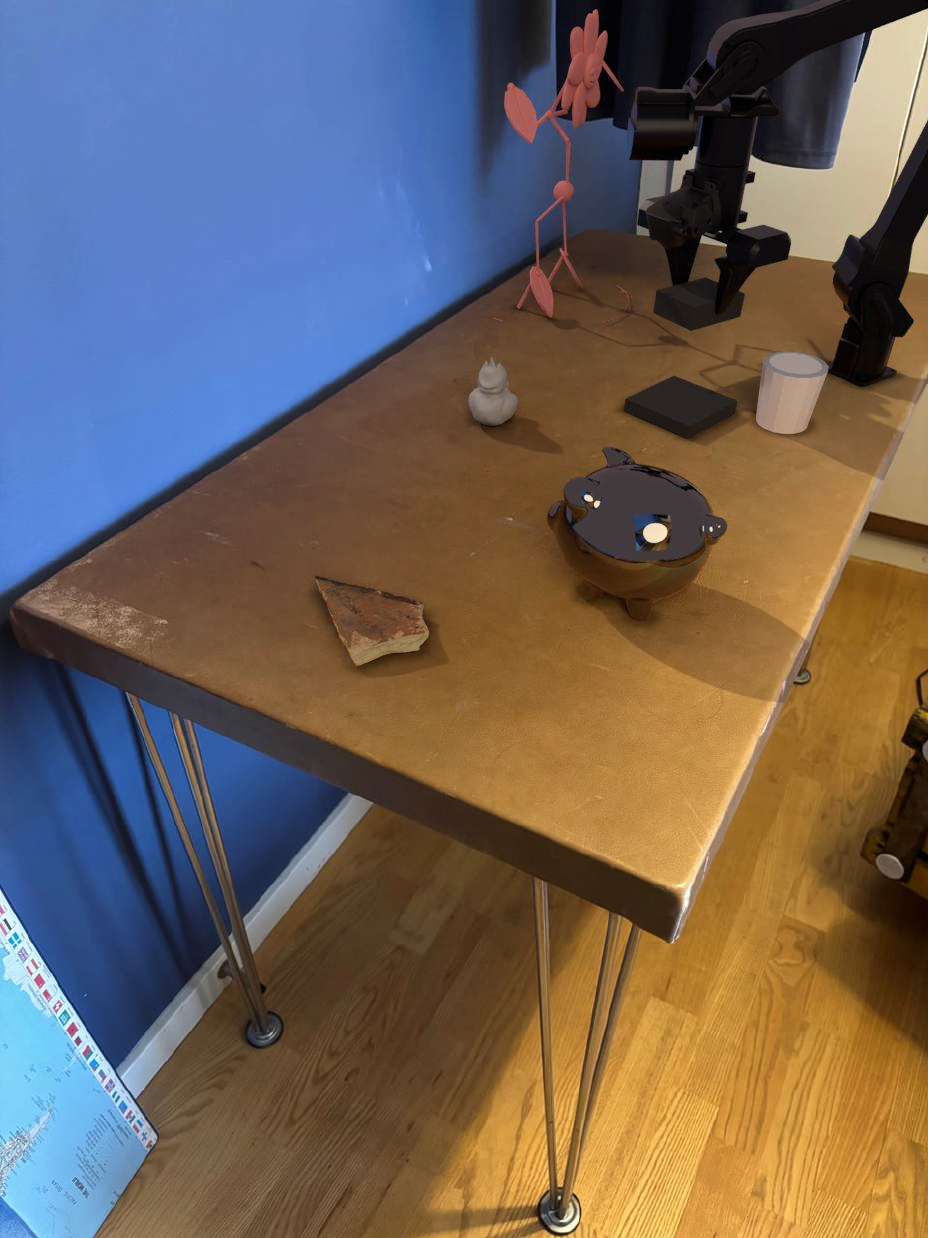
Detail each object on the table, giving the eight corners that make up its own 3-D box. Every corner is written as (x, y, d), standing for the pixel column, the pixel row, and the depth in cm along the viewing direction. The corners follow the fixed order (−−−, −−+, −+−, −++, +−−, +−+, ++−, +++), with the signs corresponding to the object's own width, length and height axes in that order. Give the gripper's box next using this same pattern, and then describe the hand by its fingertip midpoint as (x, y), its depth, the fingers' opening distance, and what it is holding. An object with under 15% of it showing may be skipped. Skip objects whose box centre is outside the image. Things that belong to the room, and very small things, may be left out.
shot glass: (815, 439, 99) (832, 379, 95) (751, 433, 100) (764, 373, 96) (810, 411, 105) (826, 352, 100) (749, 405, 106) (761, 347, 101)
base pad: (671, 387, 109) (673, 375, 108) (735, 413, 104) (738, 400, 103) (623, 411, 105) (625, 398, 103) (687, 439, 99) (689, 425, 98)
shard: (316, 589, 79) (313, 572, 78) (400, 570, 81) (399, 554, 80) (348, 669, 71) (347, 651, 70) (441, 646, 73) (440, 629, 72)
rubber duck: (460, 428, 101) (459, 359, 96) (481, 403, 106) (482, 336, 101) (505, 437, 100) (508, 368, 95) (525, 411, 104) (528, 344, 99)
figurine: (484, 327, 123) (489, 20, 101) (562, 270, 141) (581, -3, 118) (589, 349, 118) (618, 29, 95) (657, 287, 135) (695, 4, 113)
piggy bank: (575, 532, 86) (585, 421, 78) (729, 583, 79) (756, 468, 72) (516, 594, 78) (521, 478, 71) (681, 656, 72) (705, 536, 65)
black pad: (701, 299, 113) (705, 277, 111) (740, 316, 108) (745, 293, 107) (652, 313, 109) (656, 289, 107) (690, 331, 105) (694, 307, 103)
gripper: (608, 152, 101) (595, 293, 111) (731, 192, 89) (704, 346, 99) (683, 140, 105) (664, 276, 115) (809, 176, 93) (776, 324, 103)
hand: (698, 304), depth 108 cm, fingers closed on black pad, 6 cm apart
